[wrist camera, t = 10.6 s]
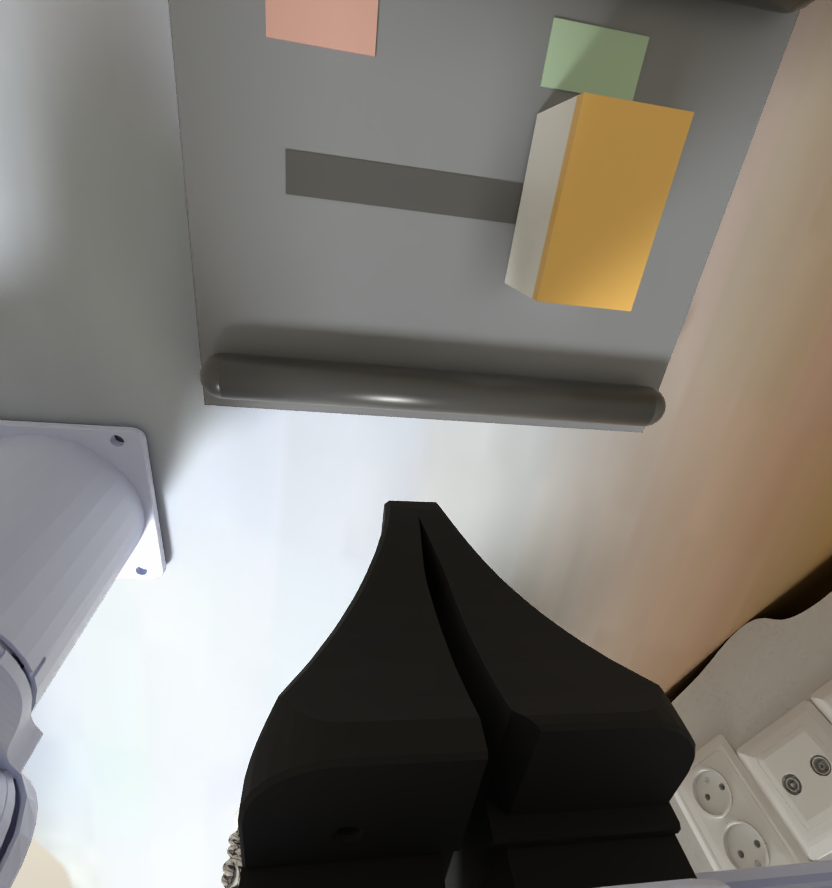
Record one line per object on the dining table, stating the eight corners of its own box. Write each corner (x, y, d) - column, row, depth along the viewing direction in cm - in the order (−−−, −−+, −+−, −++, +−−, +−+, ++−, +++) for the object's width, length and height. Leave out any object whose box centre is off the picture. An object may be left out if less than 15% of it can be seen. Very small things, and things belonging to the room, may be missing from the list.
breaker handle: (504, 282, 17) (536, 301, 14) (537, 114, 14) (584, 92, 12) (583, 291, 17) (630, 311, 14) (626, 129, 15) (694, 112, 12)
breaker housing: (218, 386, 19) (191, 422, 16) (175, -193, 12) (112, -328, 9) (619, 413, 22) (663, 450, 19) (776, -45, 15) (889, -111, 12)
